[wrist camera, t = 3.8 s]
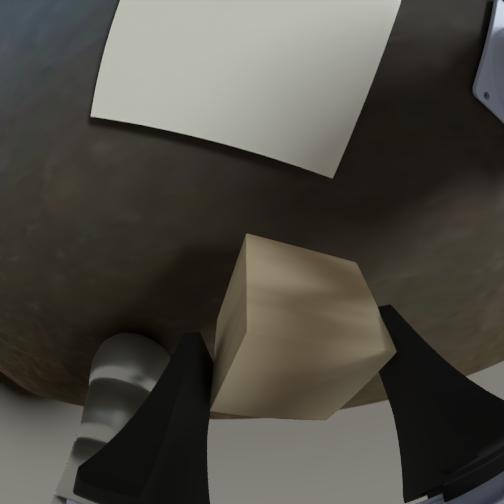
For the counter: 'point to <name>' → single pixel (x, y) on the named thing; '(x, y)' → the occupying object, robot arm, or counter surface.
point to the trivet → (246, 72)
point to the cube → (295, 334)
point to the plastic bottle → (112, 398)
